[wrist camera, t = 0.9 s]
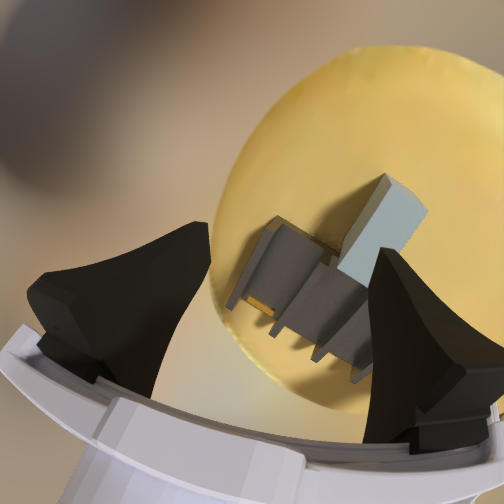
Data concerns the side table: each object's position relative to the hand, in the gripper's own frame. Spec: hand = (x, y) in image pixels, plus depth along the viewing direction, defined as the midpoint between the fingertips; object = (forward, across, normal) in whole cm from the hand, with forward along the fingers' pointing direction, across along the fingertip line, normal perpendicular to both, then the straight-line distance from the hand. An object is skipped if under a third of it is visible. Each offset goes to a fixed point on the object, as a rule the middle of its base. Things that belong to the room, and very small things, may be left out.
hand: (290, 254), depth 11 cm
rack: (+12, -3, +13) cm, 17 cm away
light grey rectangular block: (+12, -6, +3) cm, 14 cm away
